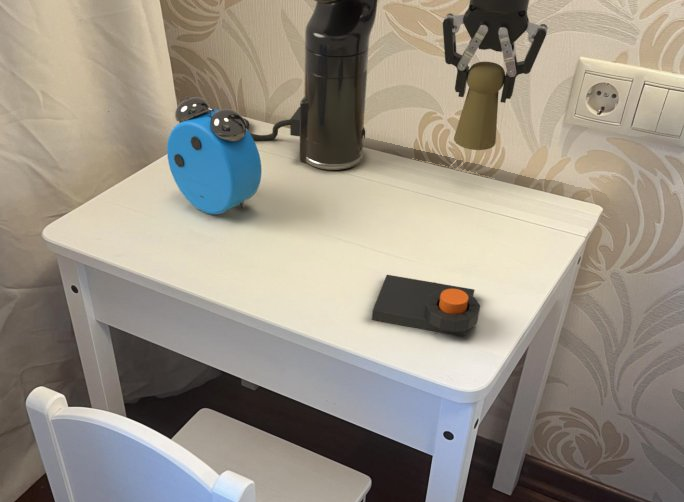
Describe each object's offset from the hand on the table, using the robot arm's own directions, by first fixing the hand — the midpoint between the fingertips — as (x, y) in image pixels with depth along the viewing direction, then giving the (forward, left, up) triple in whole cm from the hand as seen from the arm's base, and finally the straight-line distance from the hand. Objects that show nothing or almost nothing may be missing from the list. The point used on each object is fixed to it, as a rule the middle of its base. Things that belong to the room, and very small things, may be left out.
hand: (482, 97), depth 116 cm
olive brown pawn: (0, 0, -7) cm, 7 cm away
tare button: (+3, -36, -11) cm, 38 cm away
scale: (-1, -34, -13) cm, 37 cm away
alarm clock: (-34, -18, -13) cm, 41 cm away
